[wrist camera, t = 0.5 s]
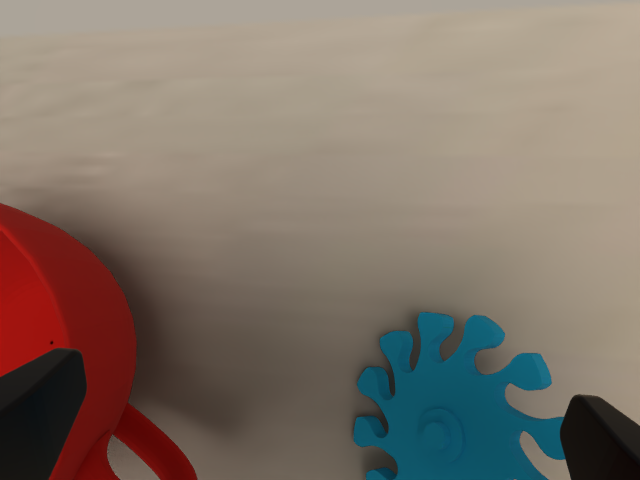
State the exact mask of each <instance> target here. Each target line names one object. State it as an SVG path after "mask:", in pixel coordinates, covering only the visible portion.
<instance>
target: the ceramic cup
mask: <svg viewBox="0 0 640 480" xmlns="http://www.w3.org/2000/svg"><path fill="white" fill-rule="evenodd" d="M136 346H137V341H136V334H135V328H134V322H133V317H132V314H131V311H130V309H129V306H128V303H127V300H126V298H125V295H124V293H123V292H122V290H121V288H120V287H119V285H118V283H117V282H116V280H115V278H114V277H113V275H112V274H111V272H110V271H109V270H108V269H107V268H106V267H105V266H104V264H103V263H102V262H101V261H100V260H99V259H98V258H97V257H96V256H95V255H94V254H93V253H92V252H91V250H89V249H88V248H87V247H85V246H84V245H83V244H81V243H80V242H78V241H77V240H76V239H74V238H73V237H71V236H70V235H69V234H67V233H66V232H65V231H63V230H61V229H60V228H58V227H56V226H54V225H52V224H50V223H48V222H45V221H43V220H41V219H38V218H36V217H34V216H32V215H29V214H27V213H25V212H22V211H20V210H18V209H15V208H12V207H10V206H7V205H4V204H1V203H0V377H1V376H3V375H5V374H6V373H8V372H10V371H12V370H14V369H16V368H18V367H20V366H22V365H24V364H26V363H28V362H30V361H31V360H33V359H35V358H37V357H39V356H41V355H43V354H45V353H47V352H49V351H51V350H53V349H55V348H71V349H78V350H79V351H81V353H82V356H83V361H84V367H85V373H86V379H87V392H86V396H85V399H84V401H83V403H82V406H81V408H80V410H79V412H78V415H77V417H76V419H75V422H74V424H73V426H72V429H71V431H70V433H69V435H68V438H67V440H66V442H65V445H64V447H63V449H62V452H61V454H60V456H59V458H58V461H57V463H56V465H55V467H54V469H53V471H52V474H51V476H50V478H49V479H48V480H120V479H119V478H118V477H117V476H116V475H115V473H114V472H113V470H112V469H111V467H110V465H109V462H108V459H107V447H108V443H109V440H110V437H111V436H112V434H113V435H114V436H116V437H117V438H118V439H119V440H121V441H122V442H123V443H124V444H126V445H127V446H128V447H129V448H130V449H131V450H132V451H134V452H135V453H136V454H137V455H138V456H139V457H140V458H141V459H142V460H143V461H144V462H145V463H146V464H147V465H148V466H149V467H150V468H151V469H152V470H153V471H154V472H155V473H156V475H157V476H158V477H159V478H160V480H197V476H196V473H195V471H194V469H193V467H192V465H191V463H190V462H189V460H188V459H187V457H186V456H185V455H184V453H183V452H182V451H181V450H180V449H179V447H178V446H177V445H176V444H175V443H174V442H173V441H172V440H171V439H170V438H169V437H168V436H167V435H166V434H165V433H164V432H162V431H161V430H160V429H159V428H158V427H157V426H156V425H155V424H153V423H152V422H151V421H150V420H149V419H148V418H146V417H145V416H144V415H143V414H141V413H140V412H139V411H138V410H136V409H135V408H134V407H133V406H131V405H130V404H129V403H128V399H129V396H130V392H131V387H132V383H133V379H134V374H135V370H136Z"/></svg>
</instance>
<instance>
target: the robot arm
mask: <svg viewBox="0 0 640 480" xmlns="http://www.w3.org/2000/svg"><path fill="white" fill-rule="evenodd" d="M86 392H87V379H86V373H85V367H84V361H83V356H82V353H81V351H79V350H78V349H71V348H55V349H53V350H51V351H49V352H47V353H45V354H43V355H41V356H39V357H37V358H35V359H33V360H31V361H30V362H28V363H26V364H24V365H22V366H20V367H18V368H16V369H14V370H12V371H10V372H8V373H6V374H5V375H3V376H1V377H0V480H48V479H49V478H50V476H51V474H52V471H53V469H54V467H55V465H56V463H57V461H58V458H59V456H60V454H61V452H62V449H63V447H64V445H65V442H66V440H67V438H68V435H69V433H70V431H71V429H72V426H73V424H74V422H75V419H76V417H77V415H78V412H79V410H80V408H81V406H82V403H83V401H84V399H85V396H86ZM560 441H561V445H562V448H563V452H564V456H565V459H566V463H567V466H568V470H569V473H570V477H571V480H640V426H639V425H638V424H637V423H635V422H634V421H632V420H631V419H630V418H628V417H627V416H626V415H624V414H623V413H621V412H620V411H619V410H617V409H616V408H614V407H613V406H612V405H610V404H609V403H608V402H606V401H605V400H603V399H602V398H600V397H598V396H592V395H580V394H578V395H575V396H573V397H572V399H571V401H570V403H569V406H568V409H567V411H566V414H565V416H564V419H563V422H562V424H561V427H560Z"/></svg>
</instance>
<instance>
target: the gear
mask: <svg viewBox="0 0 640 480" xmlns="http://www.w3.org/2000/svg"><path fill="white" fill-rule="evenodd" d="M453 328H454V321H453V318H452V317H450V316H449V315H445V314H439V313H429V312H421V313H420V315H419V317H418V329H419V332H420V337H421V350H420V355H419V359H418V362H417V365H416V368H415V369H414V371H413V370H412V368H411V367H410V364H409V357H410V354H411V351H412V348H413V338H412V336H411V334H410V333H409V331H392V332H389V333H388V334H386V335H384V336H383V337H381V338H380V347H381V350H382V352H383V353H384V354H385V355H386V357H387V358H388V360H389V362H390V364H391V366H392V369H393V373H394V379H395V395H394V397H393V396H392V395H391V393H390V389H389V379H388V375H387V373H386V371H385V370H384V369H383V368H381V367H368V368H367V369H365V371H364V372H363V373H362V375H361V377H360V378H359V381H358V383H357V386H358V389H359V391H360V392H361V393H362V394H363V395H366V396H368V397H370V398H371V399H373V400H374V401H375V402H376V403H377V404H378V405H379V407H380V408H381V410H382V412H383V413H384V415H385V417H386V419H387V422H388V425H389V431H388V434H387V433H386V432H385V430H384V428H383V426H382V424H381V422H380V421H379V419H378V418H376V417H375V416H364V417H357V419H356V422H355V427H354V442H355V443H356V444H357V445H358V446H360V447H365V446H377V447H379V448H381V449H383V450H384V451H386V452H387V453H388V454H389V455H391V456H392V457H393V458H394V459H395V461H396V463H397V466H398V474H397V475H396V474H395V473H394V472H393V471H391V470H390V469H389V468H385V467H383V468H379V469H375V470H370V471H368V472H367V473H366V480H513V479H517V480H548V479H547V478H546V477H544V476H543V475H542V474H541V473H540V472H539V471H538V470H537V469H536V468H535V467H534V466H533V465H532V463H531V462H530V461H529V459H528V458H527V456H526V455H525V453H524V452H523V450H522V448H521V446H520V441H519V439H520V435H521V433H522V432H523V431H525V432H527V433H529V434H530V435H531V436H532V437H533V438H534V440H535V441H536V443H537V444H538V446H539V447H540V449H541V450H542V451H543V452H544V453H545V454H546V455H547V456H549V457H551V458H553V459H557V460H564V459H565V456H564V452H563V448H562V445H561V441H560V427H561V424H562V422H563V419H564V417H556V418H551V419H538V418H534V417H530V416H528V415H526V414H523V413H521V412H520V411H518V410H516V409H515V408H513V407H511V406H510V405H509V404H508V402H507V401H506V398H505V388H506V386H507V385H508V384H509V383H512V384H514V385H515V386H517V387H519V388H521V389H523V390H528V391H530V390H541V389H545V388H547V387H549V386H550V385H551V384H552V382H551V376H550V373H549V370H548V368H547V365H546V363H545V362H544V360H543V358H542V356H541V355H540V354H537V353H522V354H519V355H517V356H516V357H514V358H513V360H512V361H511V362H510V364H509V365H507V366H506V367H505V368H504V369H502V370H501V371H499V372H497V373H494V374H490V375H483V374H481V373H480V372H479V371H478V370H477V369H476V367H475V364H474V358H475V355H476V353H477V352H478V351H480V350H482V349H489V348H495V347H497V346H499V345H500V344H501V343H502V342H503V340H504V337H505V333H504V332H503V330H502V329H501V328H500V327H499V326H498V325H497V324H496V323H495V322H493V321H492V320H490V319H489V318H487V317H486V316H480V315H474V316H472V317H470V318H469V319H468V321H467V322H466V325H465V329H464V335H463V339H462V341H461V343H460V346H459V347H458V349H457V350H456V352H455V353H454V354H453V355H452V356H451V357H449V358H448V359H447V360H446V361H444V360H443V359H442V358H441V356H440V352H439V348H440V345H441V343H442V342H443V341H444V340H445V339H446V338H447V337H448V336H449V335H450V334H451V333H452V331H453Z"/></svg>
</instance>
